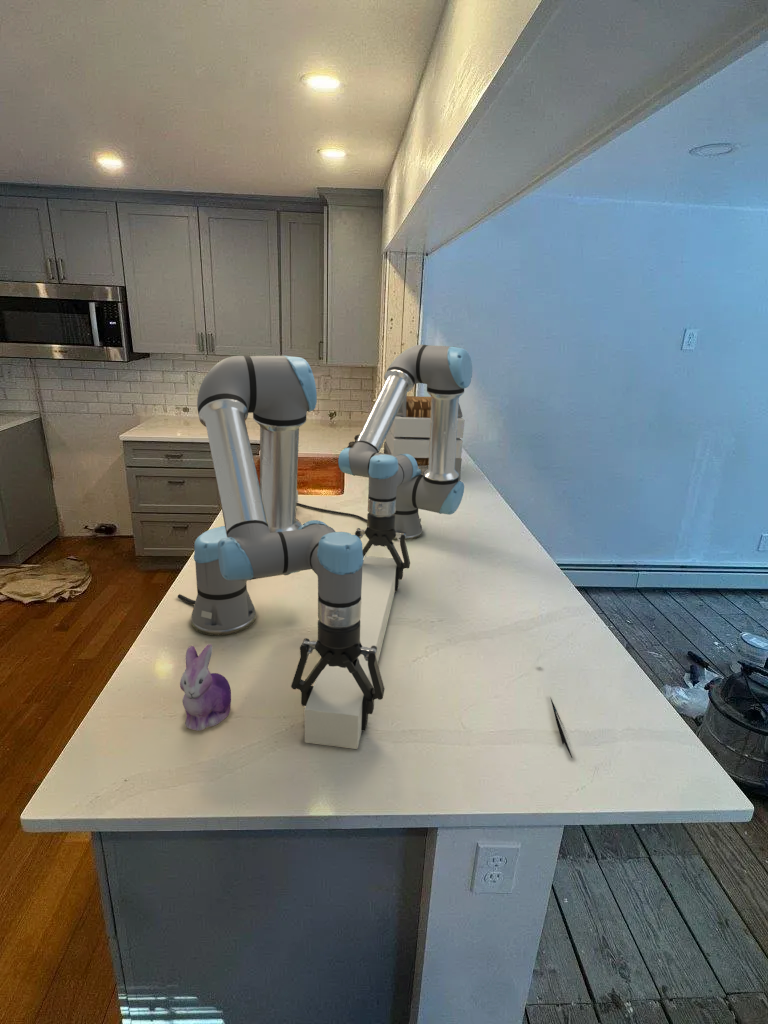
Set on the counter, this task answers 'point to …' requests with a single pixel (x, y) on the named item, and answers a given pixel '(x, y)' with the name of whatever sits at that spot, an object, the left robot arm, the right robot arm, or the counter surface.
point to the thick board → (335, 689)
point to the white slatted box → (418, 432)
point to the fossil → (352, 442)
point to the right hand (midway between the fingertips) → (378, 587)
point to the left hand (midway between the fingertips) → (337, 722)
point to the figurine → (204, 691)
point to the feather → (560, 728)
